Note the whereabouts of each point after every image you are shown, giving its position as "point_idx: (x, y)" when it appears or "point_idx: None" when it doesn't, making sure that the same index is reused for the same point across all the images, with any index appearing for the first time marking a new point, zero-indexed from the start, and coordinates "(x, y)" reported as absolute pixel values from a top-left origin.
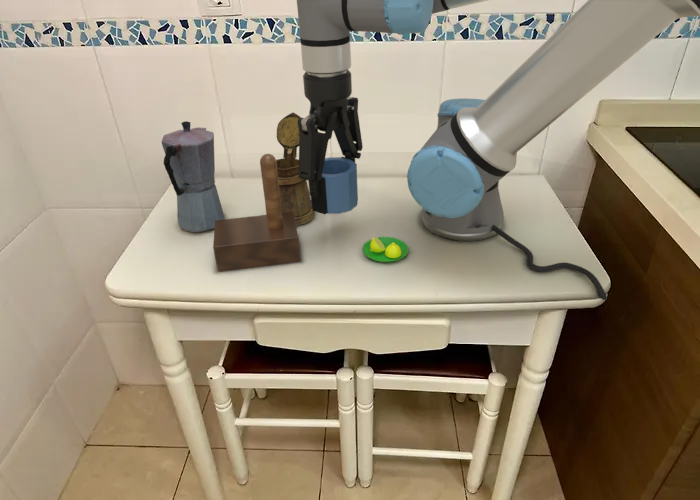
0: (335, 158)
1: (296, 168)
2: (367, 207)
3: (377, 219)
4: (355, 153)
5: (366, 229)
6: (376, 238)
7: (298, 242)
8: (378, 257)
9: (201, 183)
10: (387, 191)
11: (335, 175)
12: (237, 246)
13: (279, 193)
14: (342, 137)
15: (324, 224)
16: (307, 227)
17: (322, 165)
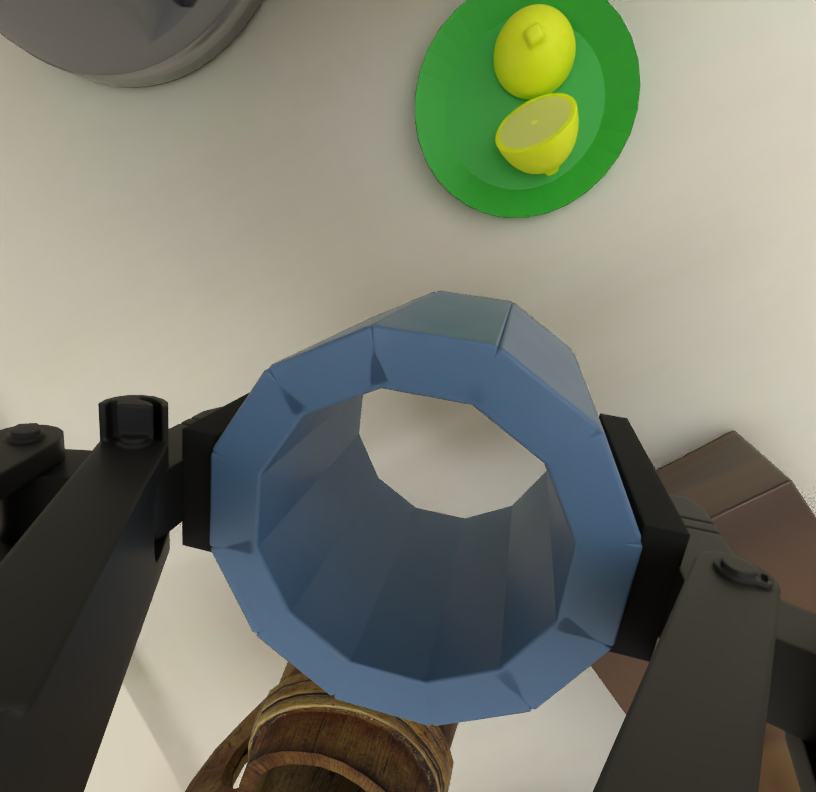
0: (249, 578)
1: (355, 760)
2: (217, 350)
3: (284, 267)
4: (129, 444)
5: (378, 277)
6: (518, 145)
7: (777, 468)
8: (582, 114)
9: None
10: (67, 325)
11: (579, 453)
12: None
13: (789, 758)
14: (96, 657)
15: (414, 459)
16: (463, 512)
17: (701, 627)
